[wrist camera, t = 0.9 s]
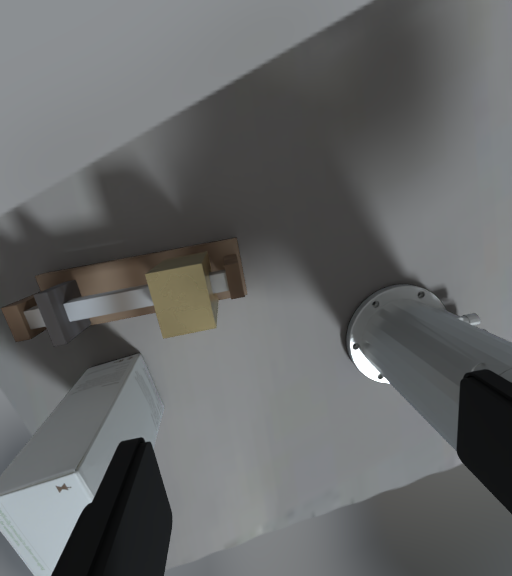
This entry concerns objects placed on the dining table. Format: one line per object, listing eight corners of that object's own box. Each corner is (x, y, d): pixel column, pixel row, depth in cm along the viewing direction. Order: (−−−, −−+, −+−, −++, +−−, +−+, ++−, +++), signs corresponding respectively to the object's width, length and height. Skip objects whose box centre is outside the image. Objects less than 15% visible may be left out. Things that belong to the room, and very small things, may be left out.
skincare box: (87, 366, 32) (-33, 499, 17) (144, 349, 32) (75, 466, 17) (116, 425, 34) (32, 589, 19) (169, 409, 35) (127, 559, 20)
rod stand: (236, 237, 30) (240, 245, 22) (246, 290, 32) (253, 315, 24) (44, 273, 29) (-23, 294, 21) (64, 326, 31) (9, 365, 23)
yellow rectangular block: (207, 251, 27) (201, 263, 20) (218, 300, 28) (216, 327, 21) (165, 259, 27) (144, 274, 20) (178, 308, 28) (163, 338, 21)
